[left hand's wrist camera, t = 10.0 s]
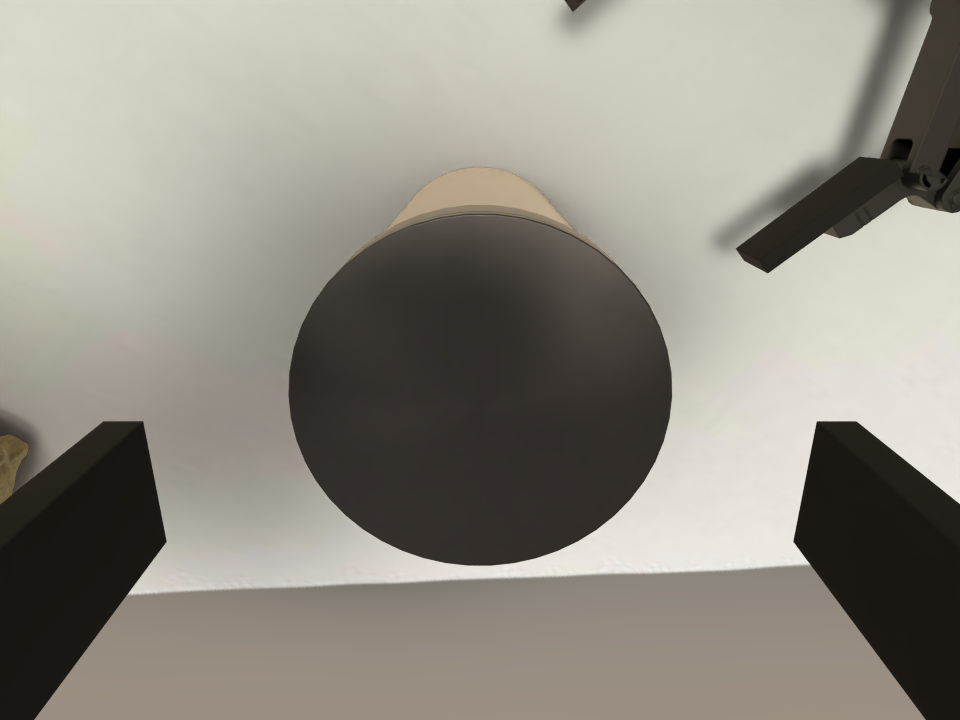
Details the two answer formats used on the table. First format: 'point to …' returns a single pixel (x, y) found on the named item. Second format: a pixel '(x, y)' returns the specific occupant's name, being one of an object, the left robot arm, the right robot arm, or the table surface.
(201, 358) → the table surface
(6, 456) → the sculpture
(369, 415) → the lid
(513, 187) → the jar
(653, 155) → the table surface
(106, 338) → the table surface
